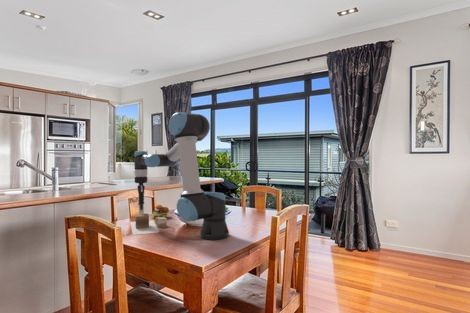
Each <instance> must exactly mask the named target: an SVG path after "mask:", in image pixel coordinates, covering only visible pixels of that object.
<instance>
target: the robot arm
mask: <svg viewBox="0 0 470 313" xmlns="http://www.w3.org/2000/svg"><path fill="white" fill-rule="evenodd" d="M168 121H169V122H168V131H169V133H170V135H172V136H173V138H174V142H176V143H175V144H174V145H173V146H172V147H171V148H170V149H169V150H168V151H166V153H164V154H163V153H161V154H160V153H157V154H156V153H155V154H153V153H148V152H147V151H146V150H138V151H134V157H133V158H134V159H133V160H134V163H133V164H134V165H133V166H134V170H133V173H134V183H135V184H138V185H137V194H138V203H137V206H138V214H145V213H144V210H145V209H144V207H145V206H144V204H145V201H144V200H145V199H144V198H145V189H146V186H145V185H144V184H146V183H148V168H159V167H161V168H163V167H175V166H177V165H178V163H180V173H181V181H182V184H181V185H182V191H181V193H180V198H179V199H178V200H177V203H176V211H177V215H178V216H179V217H180V218H181V219H182V220H183V221H185V222H195V221H199V220H203V222H202V224H201V228H200V231H199V237H200V238H201V239H204V240H210V241H211V240H212V241H213V240H216V241H217V240H224V239H227V238H228V237H230V236H229V235H230V234H229V232H230V231H229V228H228V224H227V222H226V204H227V201H226V194H224V193H223V192H216V191H204V190H203V189H202V188H201V182H200V171H199V163H198V155H197V154H198V153H197V145H196V143H198V142H201V141H202V140H204V139H205V138H206V137H207V136H208V135H209V132H210V129H211V128H210V127H211V126H210V121H209V119H207V117H206V116H204V115H202V114H198V113H191V112H186V111H185V112H182V111H181V112H180V111H179V112H178V111H177V112H175V113H174V114H172V116H171V117H170V119H169V120H168Z"/></svg>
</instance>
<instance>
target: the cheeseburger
mask: <svg viewBox="0 0 470 313" xmlns="http://www.w3.org/2000/svg"><path fill="white" fill-rule="evenodd" d="M155 209H156V210H153V212H152V214H151V220H156V217H165V218H167V216H168V213H169V212H170V210H169V207H167V206H162V204H157V205H156V206H155Z"/></svg>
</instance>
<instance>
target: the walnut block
mask: <svg viewBox="0 0 470 313" xmlns="http://www.w3.org/2000/svg"><path fill="white" fill-rule="evenodd" d="M149 220H150V215H149V214H148V213H144V214H139V213H137V214H135V222H136V229H141V228H149Z"/></svg>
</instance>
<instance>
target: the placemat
mask: <svg viewBox="0 0 470 313" xmlns="http://www.w3.org/2000/svg"><path fill="white" fill-rule="evenodd" d="M129 223H130V227H131V233H132V236H135V235H136V236H137V235H146V234H149V235H150V234H156V233H157V234H158V233H160V230H159V228H158V227H157V226H155V223H156V222H155V221H154V219H151V220H150V219H149V228H141V229H136V221H130V222H129Z"/></svg>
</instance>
